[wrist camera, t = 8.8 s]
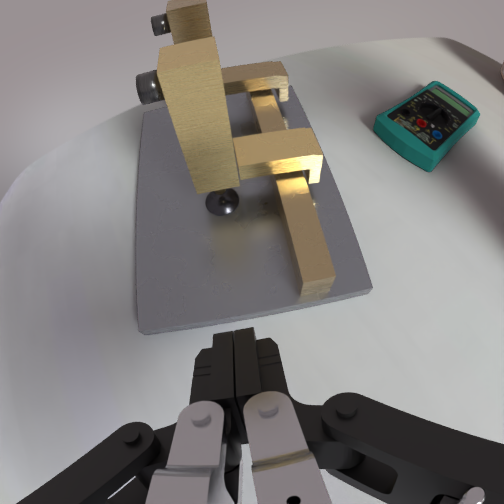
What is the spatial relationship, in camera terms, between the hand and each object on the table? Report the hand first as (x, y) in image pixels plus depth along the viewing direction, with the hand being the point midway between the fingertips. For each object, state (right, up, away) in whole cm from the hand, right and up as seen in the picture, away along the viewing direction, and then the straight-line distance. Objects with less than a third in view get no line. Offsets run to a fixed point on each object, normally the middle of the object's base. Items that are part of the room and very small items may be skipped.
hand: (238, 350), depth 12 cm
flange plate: (-1, +9, +15) cm, 18 cm away
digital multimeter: (+20, +17, +18) cm, 32 cm away
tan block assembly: (0, +10, +14) cm, 17 cm away
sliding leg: (0, +9, +12) cm, 15 cm away
